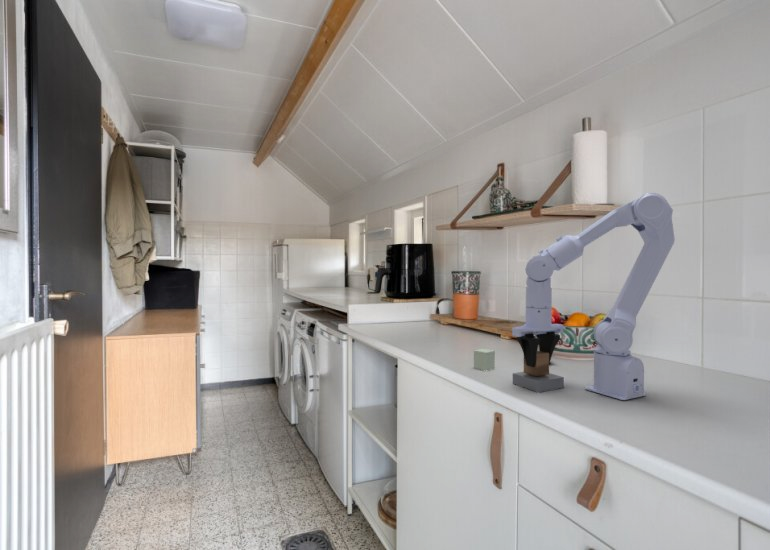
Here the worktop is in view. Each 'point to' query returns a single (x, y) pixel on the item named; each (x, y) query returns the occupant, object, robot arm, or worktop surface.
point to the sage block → (484, 359)
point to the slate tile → (538, 381)
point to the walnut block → (538, 365)
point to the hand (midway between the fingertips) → (537, 365)
